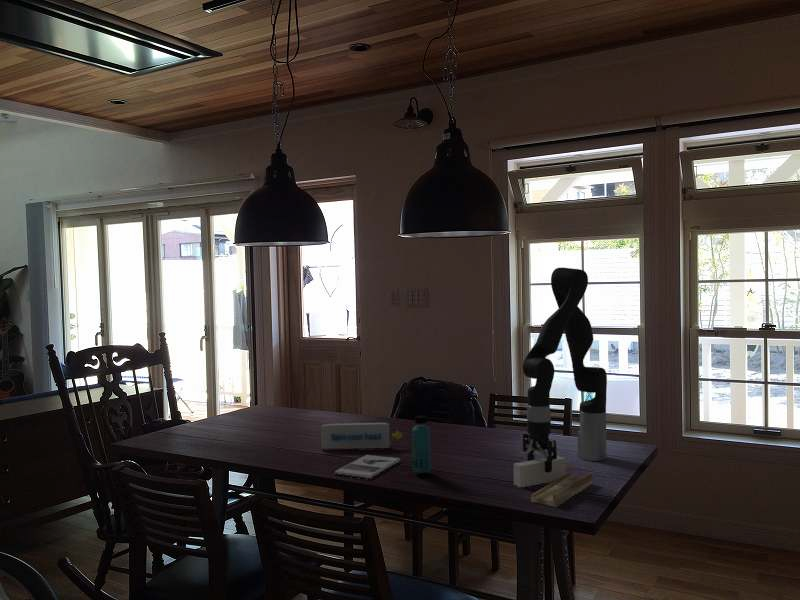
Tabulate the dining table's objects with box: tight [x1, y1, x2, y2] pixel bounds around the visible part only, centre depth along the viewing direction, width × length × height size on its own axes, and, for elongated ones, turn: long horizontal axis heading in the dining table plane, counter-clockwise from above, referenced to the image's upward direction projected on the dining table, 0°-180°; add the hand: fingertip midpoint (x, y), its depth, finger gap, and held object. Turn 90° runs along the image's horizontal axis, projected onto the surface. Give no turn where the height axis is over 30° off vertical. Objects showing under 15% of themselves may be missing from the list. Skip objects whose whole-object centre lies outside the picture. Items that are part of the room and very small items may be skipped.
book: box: [334, 454, 401, 478], centre depth 228 cm, size 23×14×2 cm, turn 155°
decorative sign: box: [320, 422, 403, 449], centre depth 256 cm, size 32×4×10 cm, turn 90°
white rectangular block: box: [512, 455, 566, 488], centre depth 209 cm, size 4×18×7 cm, turn 116°
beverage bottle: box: [411, 415, 432, 473], centre depth 219 cm, size 6×7×20 cm
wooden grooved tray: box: [530, 472, 593, 508], centre depth 197 cm, size 8×26×4 cm, turn 141°
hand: (539, 468), depth 208 cm, fingers open, 8 cm apart
